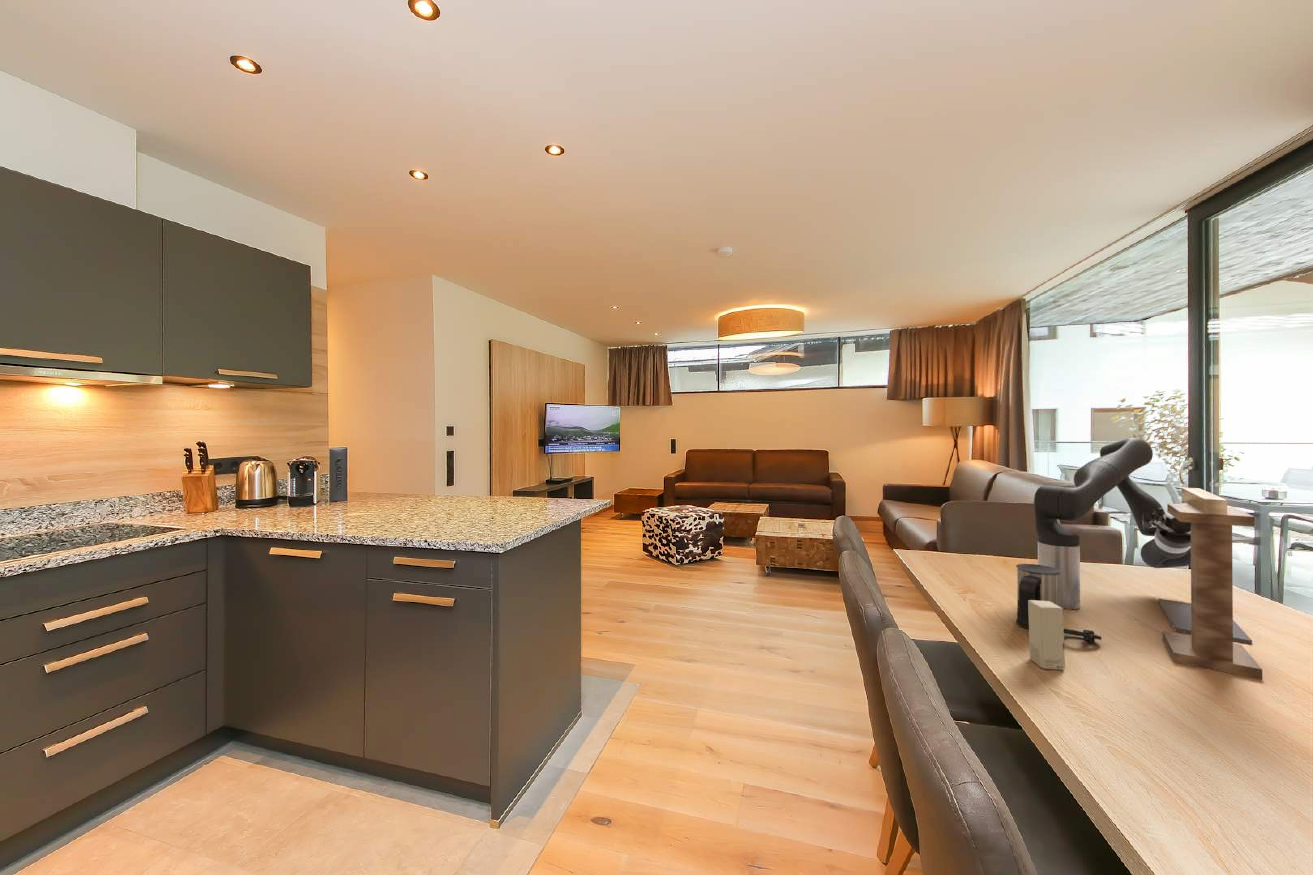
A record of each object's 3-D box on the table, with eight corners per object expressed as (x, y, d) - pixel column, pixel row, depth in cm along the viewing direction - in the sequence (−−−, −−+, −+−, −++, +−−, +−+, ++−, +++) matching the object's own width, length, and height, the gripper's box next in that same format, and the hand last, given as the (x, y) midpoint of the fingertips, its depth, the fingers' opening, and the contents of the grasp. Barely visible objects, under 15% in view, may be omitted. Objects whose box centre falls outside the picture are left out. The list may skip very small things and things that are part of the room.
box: (1066, 671, 100) (1065, 608, 100) (1041, 669, 101) (1041, 607, 101) (1050, 659, 105) (1050, 600, 105) (1027, 657, 106) (1027, 599, 106)
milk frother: (1015, 616, 129) (1015, 561, 129) (1095, 630, 120) (1094, 570, 120) (1016, 635, 118) (1015, 574, 118) (1104, 651, 108) (1103, 585, 108)
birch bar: (1205, 513, 99) (1204, 499, 99) (1181, 499, 118) (1181, 487, 118) (1227, 514, 98) (1227, 500, 98) (1199, 500, 116) (1199, 488, 116)
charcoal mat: (1175, 631, 118) (1175, 627, 118) (1158, 601, 138) (1158, 598, 138) (1252, 643, 111) (1252, 640, 111) (1221, 610, 131) (1221, 607, 131)
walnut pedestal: (1174, 662, 103) (1173, 511, 102) (1162, 638, 114) (1161, 502, 114) (1263, 680, 95) (1262, 517, 95) (1240, 652, 107) (1239, 507, 106)
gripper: (1137, 520, 138) (1144, 497, 127) (1212, 525, 129) (1226, 501, 118) (1139, 545, 135) (1146, 523, 125) (1216, 552, 126) (1231, 530, 115)
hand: (1185, 512), depth 121 cm, fingers open, 8 cm apart
